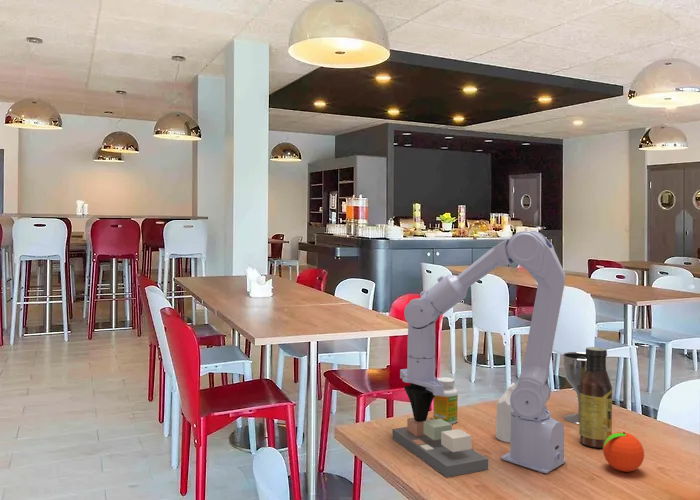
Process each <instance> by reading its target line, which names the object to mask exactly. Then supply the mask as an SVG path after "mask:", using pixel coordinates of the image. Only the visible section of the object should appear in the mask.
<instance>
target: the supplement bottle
mask: <svg viewBox="0 0 700 500" xmlns="http://www.w3.org/2000/svg"><path fill="white" fill-rule="evenodd" d="M437 380H438V381H439V382H440V383H441V384H442V385H444V395H438V396H435V397H434V399H433V420H435V419H442V420H444V421H446V422H448V423H449V424H451V425H454V424H456V423H457V422H458V396H459V395H458V390H457V388H455V386H456V385H455V380H456V379H454V378H453V377H448V376H443V377H442V376H441V377H438V378H437Z"/></svg>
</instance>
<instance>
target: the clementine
mask: <svg viewBox="0 0 700 500" xmlns="http://www.w3.org/2000/svg"><path fill="white" fill-rule="evenodd" d="M602 450H603V451H602V452H603V457H604V459H605V460H606V462H607V463H608V465H610V466H611V467H612V468H613V469H615V470H617V471H620V472H625V473H626V472H629V473H630V472H633V471H635V470H637V469H638V468H640V467H641V465H642V464H643V462H644V459H645V450H644V448H643V444H642V443H641V442H640V440H639V439H638V438H637V437H635V436H634V435H633V434H631V433H628V432H626V431H617V432H614V433H612V435H610V436H609V437H608V438H607V439H606V441H605V442H604V446H603V448H602Z"/></svg>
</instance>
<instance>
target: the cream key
mask: <svg viewBox="0 0 700 500" xmlns="http://www.w3.org/2000/svg"><path fill="white" fill-rule="evenodd" d="M441 445H443V446H444V447H446V448H447V449H449V450H450V451H452V452H457V451H463V450H468V449H472V435H471V434H469V433H467V432H465V430H462V429H460V428H455V429H452V430H449V431H443V432H441Z"/></svg>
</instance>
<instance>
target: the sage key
mask: <svg viewBox="0 0 700 500" xmlns="http://www.w3.org/2000/svg"><path fill="white" fill-rule="evenodd" d="M452 427H453V424H449V423H448V422H446V421H444V420H442V419H435V420H434V419H430V420H428V421H424V428H423V434H425V435H427V436H428V437H430V438H431V439H433V440H439V439H441V432H443V431H449V430H453V429H452Z"/></svg>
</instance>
